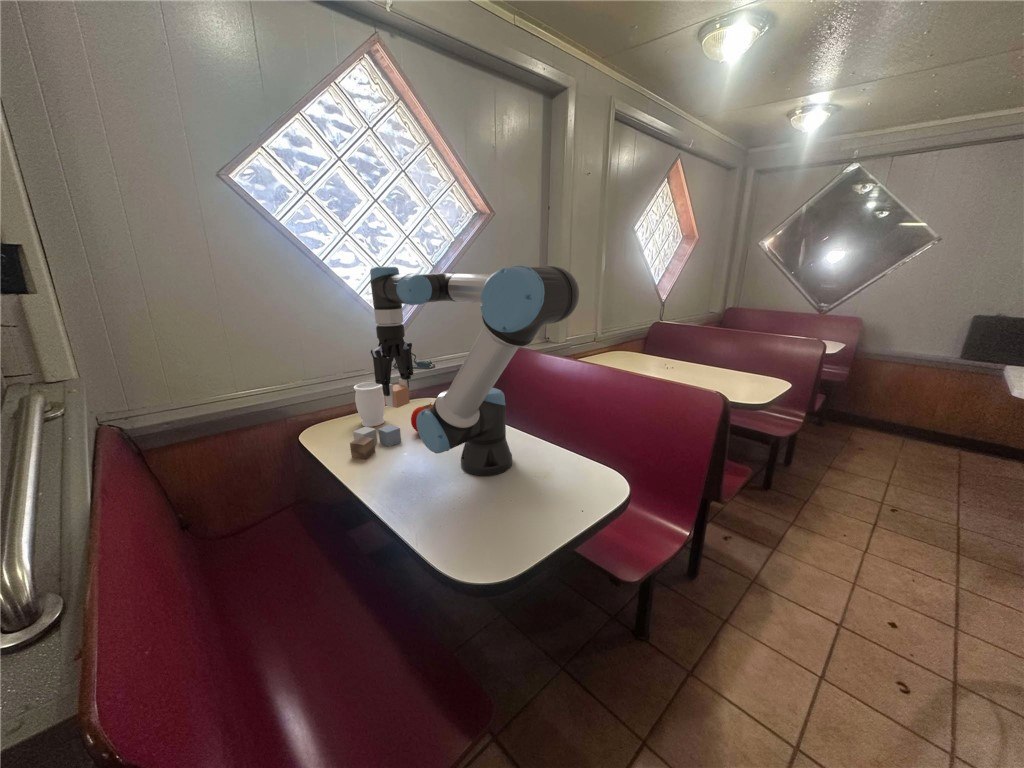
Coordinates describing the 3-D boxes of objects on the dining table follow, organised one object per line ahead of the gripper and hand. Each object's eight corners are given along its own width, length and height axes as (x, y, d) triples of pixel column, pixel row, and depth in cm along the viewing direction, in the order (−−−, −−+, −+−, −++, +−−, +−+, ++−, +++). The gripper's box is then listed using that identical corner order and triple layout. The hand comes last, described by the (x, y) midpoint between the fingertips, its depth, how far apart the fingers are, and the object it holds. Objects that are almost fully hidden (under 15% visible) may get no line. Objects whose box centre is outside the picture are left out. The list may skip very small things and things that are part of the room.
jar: (359, 419, 153) (354, 382, 149) (387, 416, 156) (383, 380, 152) (357, 429, 143) (352, 390, 139) (387, 426, 146) (383, 387, 142)
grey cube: (377, 442, 133) (375, 429, 131) (365, 448, 129) (363, 434, 127) (367, 439, 135) (365, 426, 134) (355, 445, 131) (353, 431, 130)
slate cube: (401, 441, 133) (399, 428, 132) (388, 446, 130) (386, 432, 128) (392, 438, 136) (391, 424, 135) (379, 442, 133) (378, 428, 131)
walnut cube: (375, 452, 126) (373, 438, 124) (365, 459, 121) (363, 444, 120) (361, 451, 127) (359, 436, 125) (351, 457, 122) (349, 443, 121)
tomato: (451, 434, 138) (449, 407, 135) (414, 440, 134) (412, 412, 131) (444, 423, 148) (442, 397, 145) (410, 429, 144) (407, 402, 141)
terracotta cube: (409, 402, 118) (408, 386, 117) (397, 407, 114) (395, 391, 113) (397, 400, 121) (396, 384, 119) (385, 405, 117) (383, 388, 115)
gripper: (403, 319, 120) (410, 392, 126) (353, 327, 105) (364, 410, 112) (422, 320, 116) (428, 396, 123) (373, 329, 101) (382, 414, 108)
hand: (397, 402), depth 117 cm, fingers closed on terracotta cube, 5 cm apart
